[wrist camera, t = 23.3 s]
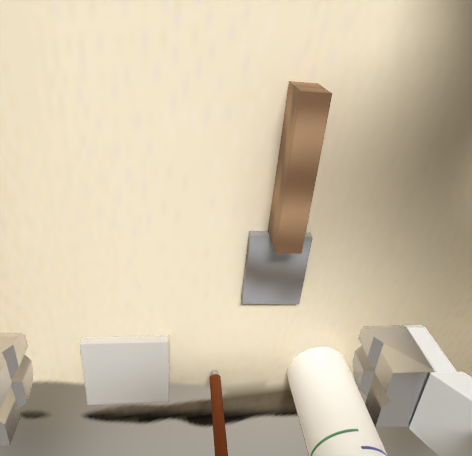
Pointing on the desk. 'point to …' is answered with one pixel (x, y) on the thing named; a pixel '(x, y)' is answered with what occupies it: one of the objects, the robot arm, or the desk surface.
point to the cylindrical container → (331, 406)
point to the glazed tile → (125, 369)
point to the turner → (289, 202)
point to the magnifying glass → (218, 415)
